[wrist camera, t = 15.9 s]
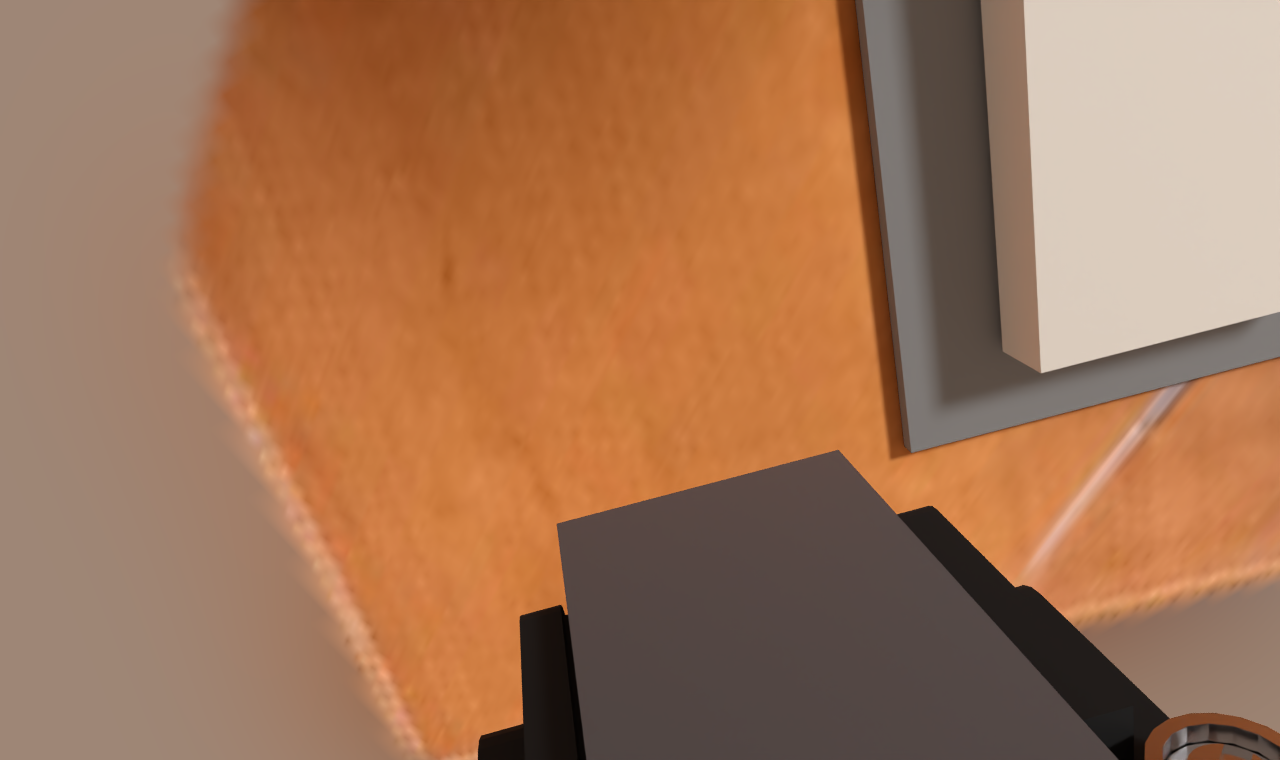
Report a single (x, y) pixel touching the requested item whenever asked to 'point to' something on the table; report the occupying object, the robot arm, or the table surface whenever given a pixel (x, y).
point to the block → (792, 633)
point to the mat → (976, 245)
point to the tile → (1131, 170)
